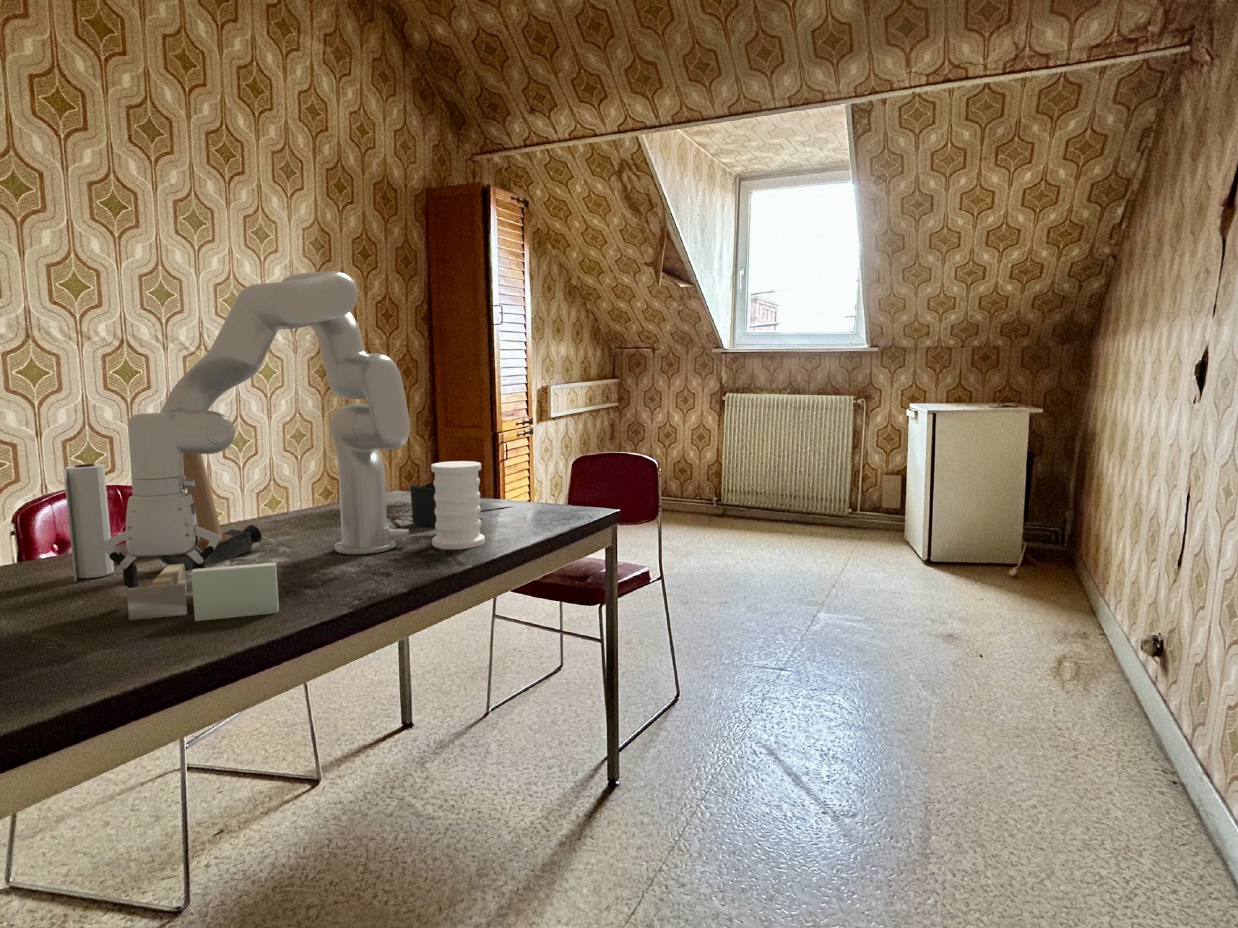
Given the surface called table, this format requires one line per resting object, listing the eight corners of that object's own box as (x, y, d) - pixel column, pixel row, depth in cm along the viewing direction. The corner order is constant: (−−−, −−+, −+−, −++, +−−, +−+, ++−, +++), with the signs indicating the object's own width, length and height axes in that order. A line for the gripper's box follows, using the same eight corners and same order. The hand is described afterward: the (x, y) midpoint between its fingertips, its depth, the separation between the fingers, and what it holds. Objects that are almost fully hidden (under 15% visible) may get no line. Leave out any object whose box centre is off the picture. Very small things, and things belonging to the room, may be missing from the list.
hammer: (178, 583, 148) (136, 435, 139) (161, 580, 150) (119, 434, 141) (264, 543, 165) (231, 409, 156) (248, 541, 167) (215, 408, 158)
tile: (279, 609, 126) (276, 562, 125) (277, 613, 124) (274, 565, 123) (197, 617, 122) (193, 568, 121) (195, 621, 120) (191, 572, 119)
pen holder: (444, 527, 188) (443, 487, 186) (407, 527, 188) (405, 487, 187) (453, 519, 197) (452, 481, 196) (417, 519, 197) (416, 481, 196)
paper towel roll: (108, 568, 151) (97, 462, 148) (118, 574, 147) (108, 464, 144) (64, 576, 145) (53, 466, 142) (74, 582, 141) (63, 468, 138)
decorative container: (457, 535, 179) (454, 459, 177) (495, 541, 173) (493, 462, 171) (421, 545, 169) (418, 465, 167) (460, 551, 163) (457, 469, 161)
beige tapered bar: (153, 593, 134) (150, 566, 134) (203, 589, 137) (201, 562, 136) (129, 620, 120) (126, 589, 120) (186, 614, 123) (183, 584, 122)
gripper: (220, 482, 133) (226, 577, 135) (105, 486, 127) (113, 585, 129) (213, 488, 126) (219, 588, 128) (90, 493, 120) (99, 598, 122)
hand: (165, 587), depth 129 cm, fingers open, 9 cm apart
